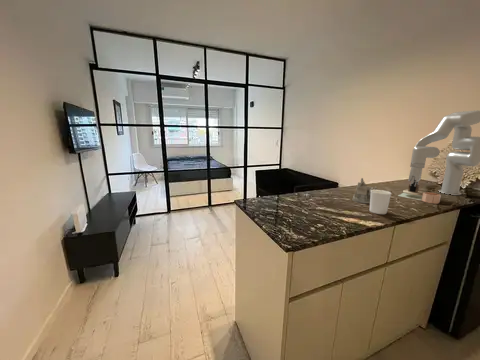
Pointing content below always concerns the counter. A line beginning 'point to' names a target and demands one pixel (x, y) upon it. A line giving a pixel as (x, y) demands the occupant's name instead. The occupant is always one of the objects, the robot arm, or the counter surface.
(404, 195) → the mat
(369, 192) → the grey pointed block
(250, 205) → the counter surface
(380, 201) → the candle holder
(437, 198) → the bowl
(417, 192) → the lid
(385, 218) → the counter surface
